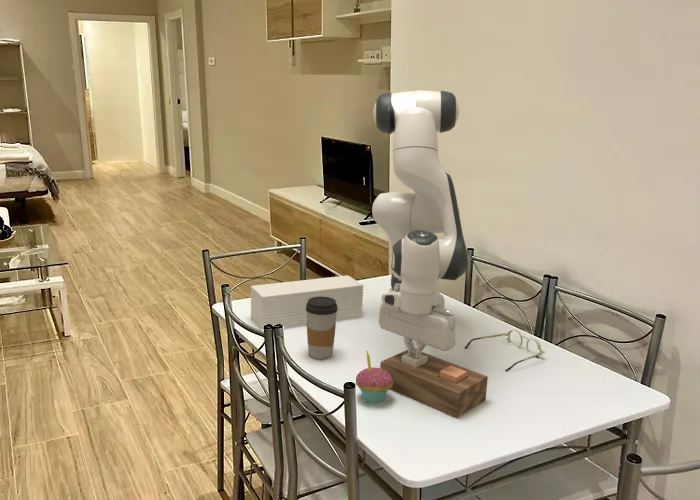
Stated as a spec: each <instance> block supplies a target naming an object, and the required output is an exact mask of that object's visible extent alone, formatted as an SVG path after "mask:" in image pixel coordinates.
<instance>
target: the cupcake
mask: <svg viewBox="0 0 700 500" xmlns="http://www.w3.org/2000/svg"><path fill="white" fill-rule="evenodd" d="M366 360H367V361H366V362H367V368H363V369H362V370H361V371H360V370H359V373H357V374H356V377H355V385H356V386H357V387H358V388H359V390H360V393H361V396H362V399H363V401H364V402H366V403H370V404H379V403H382V402H383V401H384V399H385V397H386V394H387V392H388V391H391V390H390V389H391V388H392V386H393V379H392V376H391V375H390V374H389V373H388V372H387V371H386V370H384V369H382V368H380V367H374V366H372V364H371V363H372V362H371V356H370V353H369V351H368V350H366Z"/></svg>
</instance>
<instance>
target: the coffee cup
mask: <svg viewBox="0 0 700 500" xmlns="http://www.w3.org/2000/svg"><path fill="white" fill-rule="evenodd" d="M337 310H338V309H337V304H336V301H335V300H334V299H333V298H330V297H313V298H310V299H309V300H308V303H307V304H306V314H307V326H306V334H307V335H306V336H307V337H306V339H307V349H308V350H307V351H308V355H309V357H310V358H312V359H314V360H327V359H329V358H331V357H332V355H333V351H334V345H335V335H336V326H337V321H336V314H337Z"/></svg>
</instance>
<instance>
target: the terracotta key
mask: <svg viewBox="0 0 700 500" xmlns="http://www.w3.org/2000/svg"><path fill="white" fill-rule="evenodd" d="M439 377H440V378H443V379H445V380H448V381H450V382H453V383H455V384H457V383H459V382H460V381H462V380H464V379H466V377H467V371H464V370H462V369H459V368H456V367H453V366H449V367H447V368H445V369H443V370H441V371H440V376H439Z"/></svg>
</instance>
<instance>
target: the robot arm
mask: <svg viewBox="0 0 700 500" xmlns="http://www.w3.org/2000/svg"><path fill="white" fill-rule="evenodd" d="M459 107H460V106H459V103H458V100H457V97H456V96H455V94H454V93H453V92H450V91H447V90H446V91H445V90H440V91H435V90H426V89H425V90H423V89H418V90H417V89H416V90H407V91H400V92H399V91H398V92H393V93H392V91H391V92H385V93H381V94H380V95H378V97H377V98H376V101H375V103H374V106H373V110H372V116H373V117H372V118H373V121H374V122H375V125H376V128H377V130H379V131H380V132H381V133H383V134H388V135H391V134H392V133H394V135H393V143H392V147H393V148H392V163H393V170H394V171H393V172H394V174H395V176H396V177H397V179H398V180H399V181H400V182H401V183H402V184H403V185H404V186H406V187H408V188H410V189H411V190H412V191H413V193H412V192H403V191H389V192H382V193H379V194H378V195H377V196H376V198H375V199H374V201H373V203H372V207H371V212H372V218H373V220H374V221H375V223H376V224H377V225H378V227H381V229H382V230H383V231H384V232H385V234H386V235H387V237H388V239H389V241H390V243H391V247H392V255H391V256H392V258H391V266H390V268H391V270H392V274H391V275H390V276H391V277H390V286H391V287H390V288H389V290H388V291H387V292H386V293H383V294H382V295H381V301H382V303H381V305H380V307H379V315H378V324H379V327H380V328H381V329H382V330H384V331H386V332H390V333H392V334H396V335H398V336H401V337H404V338H403V339H404V340H403V341H404V344H405V346H406V348H407V350H408V355H409V356H412V357H415V358H417V359H418V358H420V357H421V356H422V352H423V350H424V348H426V346H429V347H432V348H435V349H437V350H440V351H442V352H446V351H448V350H451V349H453V348H454V347H455V346H456V317H455V316H454V314H453V313H452V310H450V309H448V308H446V307H445V305H446V304H445V303H446V302H445V298H444V297H445V296H444V295H443V294H442V293H441V292H440V291H439V287H438V279H440V280H447V281H456V280H458V279H459V278H461V277H462V276H463V275H464V274H466V272H467V271H468V268H469V254H468V250H467V246H466V243H465V238H464V233H463V228H462V223H461V222H462V221H461V218H460V217H461V216H460V208H459V206H458V199H457V195H456V189H455V185H454V181H453V179H452V177H451V175H450V174H449V173H447V172H445V171H444V169H443V167H442V165H441V162H440V159H439V144H438V143H439V141H438V132H439V133H440V134H441V133H446V132H449V131H451V130H452V129H454V127H455V126H456V123H457V122H458V120H459V114H460V108H459ZM442 233H443V235H444V237H443V238H439V237H438V235H436V234H442ZM414 341H416V346H417V347H415V345H414Z"/></svg>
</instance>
